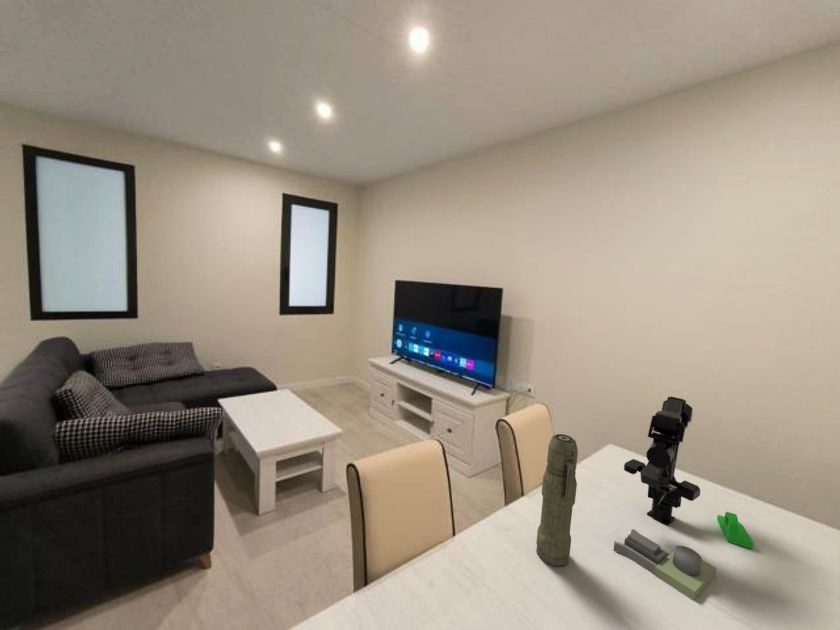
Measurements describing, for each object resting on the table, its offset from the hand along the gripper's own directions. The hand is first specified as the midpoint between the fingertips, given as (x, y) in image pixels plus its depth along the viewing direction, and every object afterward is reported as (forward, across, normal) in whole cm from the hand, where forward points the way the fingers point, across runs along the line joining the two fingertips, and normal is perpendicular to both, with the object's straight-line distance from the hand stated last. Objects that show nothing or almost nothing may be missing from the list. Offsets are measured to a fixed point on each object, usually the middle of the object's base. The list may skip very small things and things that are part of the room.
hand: (656, 504), depth 108 cm
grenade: (+12, -12, -33) cm, 37 cm away
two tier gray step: (+12, +2, -10) cm, 16 cm away
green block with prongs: (+12, +11, -9) cm, 19 cm away
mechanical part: (+12, +12, +29) cm, 34 cm away
